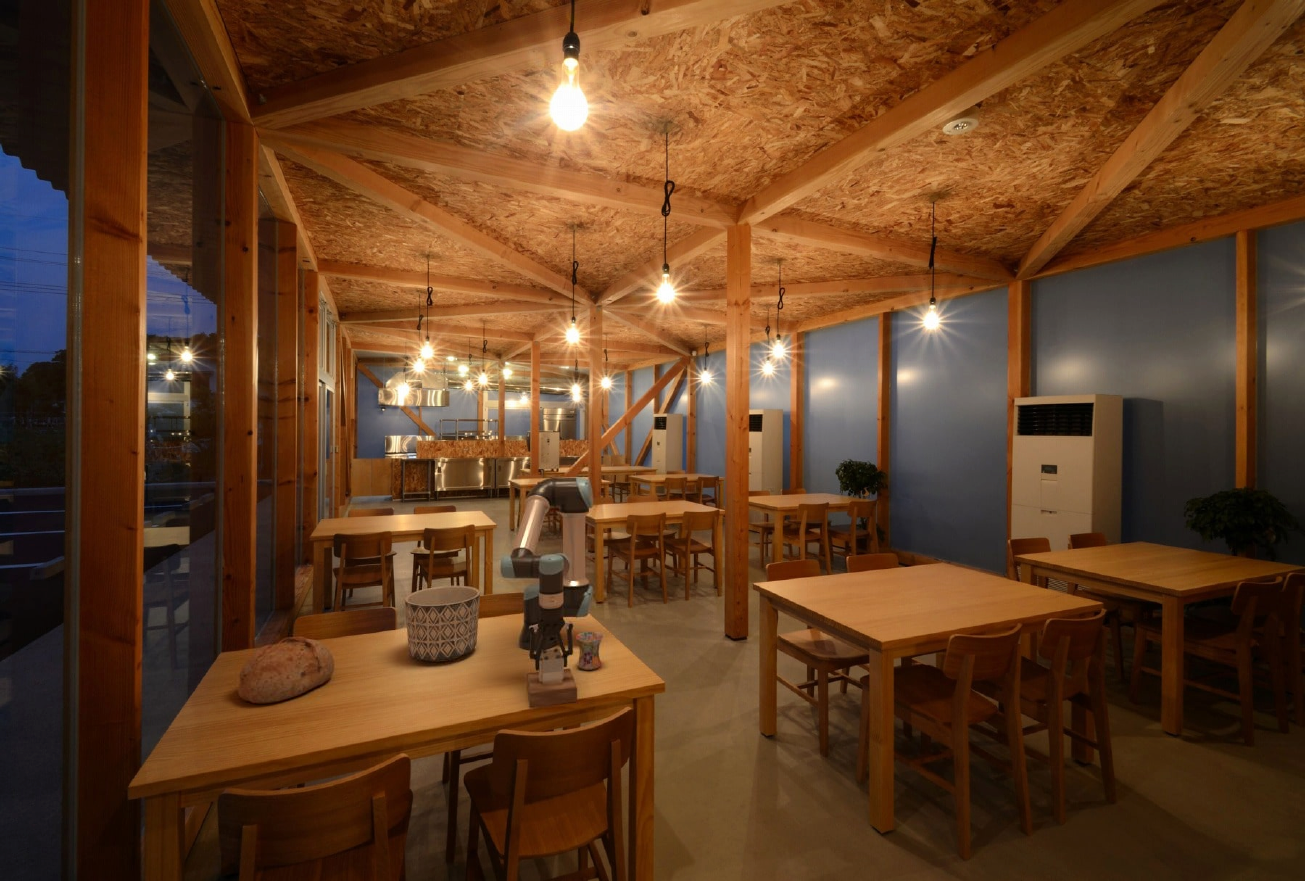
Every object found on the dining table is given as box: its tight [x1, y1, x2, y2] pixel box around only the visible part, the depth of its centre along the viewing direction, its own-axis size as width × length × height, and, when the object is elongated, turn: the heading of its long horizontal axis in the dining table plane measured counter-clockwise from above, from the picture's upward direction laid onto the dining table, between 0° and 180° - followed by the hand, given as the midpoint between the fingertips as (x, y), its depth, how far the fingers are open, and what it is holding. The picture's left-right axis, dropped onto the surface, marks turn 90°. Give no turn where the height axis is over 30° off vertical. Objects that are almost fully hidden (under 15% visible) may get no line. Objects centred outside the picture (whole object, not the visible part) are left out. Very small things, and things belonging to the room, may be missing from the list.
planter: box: [404, 585, 481, 663], centre depth 205 cm, size 26×26×22 cm
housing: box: [540, 648, 563, 686], centre depth 174 cm, size 8×6×8 cm
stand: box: [526, 668, 578, 709], centre depth 174 cm, size 15×14×4 cm
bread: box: [237, 636, 335, 704], centre depth 178 cm, size 26×23×15 cm
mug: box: [575, 631, 603, 671], centre depth 196 cm, size 12×9×11 cm
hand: (551, 678), depth 174 cm, fingers closed on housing, 6 cm apart
